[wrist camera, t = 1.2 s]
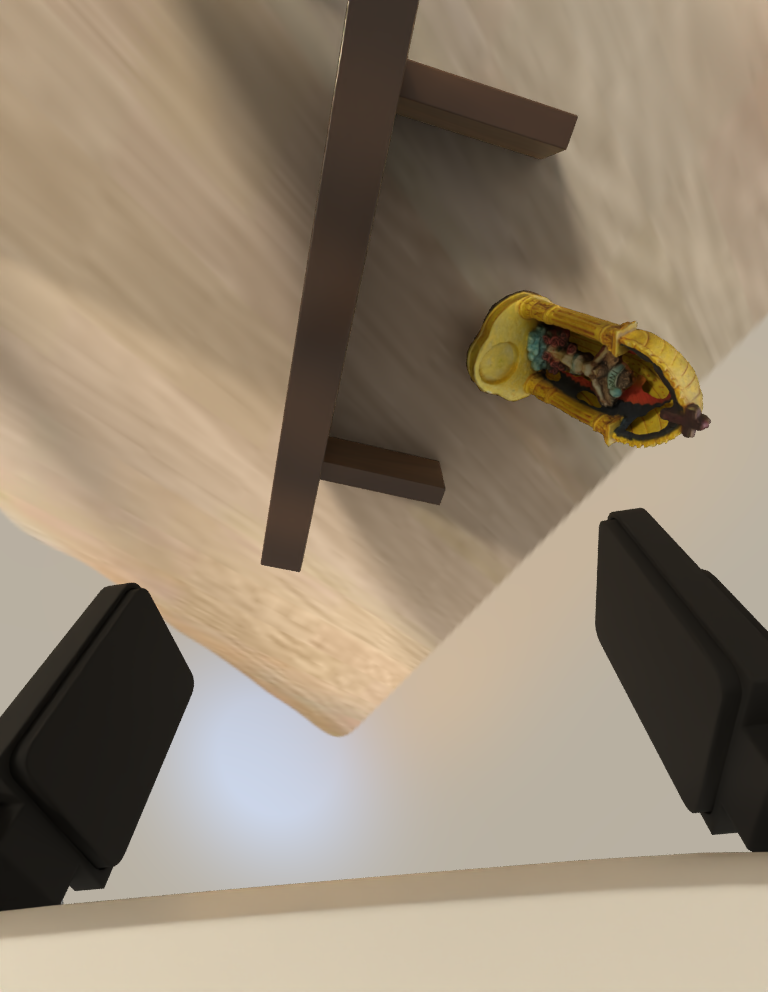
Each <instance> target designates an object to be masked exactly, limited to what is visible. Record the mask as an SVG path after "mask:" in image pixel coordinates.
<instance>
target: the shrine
mask: <svg viewBox="0 0 768 992" xmlns="http://www.w3.org/2000/svg"><path fill="white" fill-rule="evenodd" d="M636 327H637V322H636V321H633V322H631V323H630V322H625V323H623V324H621V325H618V324H615V323H611V322H609V321H605V320H602V319H599V318H596V317H593V316H590V315H588V314H584V313H580V312H577V311H573V310H571V309H567V308H563V307H561V306H558V305H556V304H553V303H552V302H551V301H550V300H548V299H547V298H546V297H543V296H541V295H539V294H536V293H533V292H531V291H525V290H523V291H519V292H516V293H514V294H510V295H508V296H506V297H504V298H503V299H501V300H500V301H498V302H497V303H495V304H494V305H493V306H492V307H491V308H490V310H489V312H488V314H487V316H486V317H485V319H484V321H483V325H482V327H481V329H480V331H479V332H478V334H477V335H476V337H475V338H474V341H473V342H472V343H471V344H470V347H469V349H468V352H467V359H466V360H467V361H466V366H467V370H468V373H469V375H470V377H471V380H472V381H473V382H475V383H476V384H477V386H478V388H479V389H480V391H482V392H486V393H489V394H496V395H499V396H501V397H503V398H504V399H506V400H508V401H517V400H519V399H522V398H525V397H528V396H529V395H530V394H532V395H535V396H536V398H538V399H539V400H541V401H543V402H545V403H548V404H551V405H553V406H555V407H557V408H559V409H561V410H562V411H563V412H565V413H567V414H569V415H570V416H571V417H574V418H576V419H578V420H579V421H580V422H583V423H585V424H587V425H589V426H591V427H592V428H593V431H596V432H599V433H601V434H602V435H603V436H604V440H605V443H606V444H607V446H608V447H609V446H610V445H611V444H612V443H615V442H618V443H619V442H622V443H623V444H626V443H629V446H631V447H633V446H635V445H636V446H637V448H640V447H641V446H642V445H644V447H648V446H652V447H654V446H656V445H657V444H659V445H660V444H662V443H663V442H666V443H667V442H668V441H669V440H672V439H675V437H676V436H678V435H680V434H681V433H682V434H683V436H684V437H687V438H689V437H694V435H695V432H696V430H697V431H701V430H703V429H705V428H708V427H709V424H710V423H711V420H710V419H709V418H708V417H707V416H706V415H704V414H702V409H703V402H702V399H703V398H702V396H703V395H702V392H701V389H700V386H699V382H698V379H697V376H696V374H695V371H694V370H693V368H692V367H691V365H690V364H689V362H687V361H686V359H685V358H684V357H683V356H682V355H681V354H680V353H679V352H678V351H677V350H676V349H675V348H674V347H673V346H672V345H671V344H669V343H668V342H666V341H665V340H662V339H661V338H660V337H658V336H657V335H655V334H653V333H651V332H648V331H643V330H640V329H636Z"/></svg>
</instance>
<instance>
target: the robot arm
mask: <svg viewBox="0 0 768 992" xmlns="http://www.w3.org/2000/svg"><path fill="white" fill-rule="evenodd" d="M595 626H596V632H597V636H598V639H599V641H600V643H601V645H602V647H603V649H604V651H605V653H606V655H607V657H608V658H609V660H610V662H611V664H612V666H613V668H614V670H615V672H616V674H617V676H618V678H619V680H620V681H621V684H622V685H623V687H624V689H625V691H626V693H627V695H628V697H629V699H630V701H631V703H632V705H633V707H634V708H635V710H636V712H637V714H638V716H639V718H640V720H641V722H642V724H643V726H644V728H645V730H646V731H647V733H648V735H649V737H650V739H651V741H652V743H653V745H654V747H655V749H656V751H657V753H658V754H659V756H660V758H661V760H662V762H663V764H664V766H665V768H666V770H667V772H668V773H669V775H670V777H671V779H672V781H673V783H674V785H675V787H676V789H677V791H678V793H679V795H680V796H681V799H682V800H683V802H684V804H685V806H686V807H687V808H688V810H689V811H691V812H692V813H701V815H702V817H703V819H704V821H705V823H706V824H707V826H708V828H709V830H710V832H711V834H712V835H715V834H727V833H738V834H739V835H740V837H741V839H742V840H743V842H744V844H745V845H746V847H747V849H748V850H750V851H752V852H723V853H691V854H674V855H658V856H641V857H625V858H609V859H592V860H578V861H565V862H553V863H541V864H529V865H517V866H516V865H515V866H503V867H491V868H478V869H465V870H453V871H441V872H428V873H416V874H404V875H392V876H380V877H368V878H357V879H344V880H333V881H321V882H309V883H298V884H286V885H275V886H263V887H251V888H240V889H228V890H217V891H206V892H194V893H184V894H174V895H162V896H151V897H140V898H129V899H118V900H107V901H96V902H85V903H74V904H63V898H64V896H65V893H66V892H67V889H68V887H69V886H70V887H71V888H73V889H74V891H80V890H91V889H102V888H104V887H105V885H106V883H107V880H108V878H109V876H110V873H111V871H112V868H113V866H115V865H117V864H118V863H119V862H120V861H121V860H122V858H123V856H124V854H125V852H126V849H127V847H128V845H129V842H130V840H131V838H132V835H133V833H134V831H135V828H136V826H137V823H138V821H139V819H140V816H141V814H142V812H143V809H144V807H145V804H146V802H147V800H148V797H149V795H150V792H151V790H152V787H153V785H154V783H155V781H156V778H157V776H158V773H159V771H160V768H161V766H162V764H163V761H164V759H165V757H166V754H167V752H168V750H169V747H170V745H171V743H172V740H173V738H174V735H175V733H176V731H177V728H178V726H179V723H180V721H181V718H182V716H183V714H184V712H185V709H186V707H187V704H188V702H189V700H190V697H191V695H192V692H193V687H194V680H193V675H192V673H191V671H190V669H189V667H188V665H187V663H186V662H185V660H184V658H183V656H182V654H181V652H180V650H179V648H178V646H177V644H176V643H175V641H174V639H173V637H172V635H171V633H170V632H169V629H168V627H167V626H166V624H165V622H164V620H163V618H162V616H161V614H160V612H159V610H158V609H157V607H156V605H155V603H154V601H153V599H152V597H151V595H150V593H149V592H148V591H147V590H146V589H144V588H141V587H140V586H139V585H138V584H136V583H126V584H119V585H113V586H108V587H104V588H103V589H102V590H101V591H100V593H99V594H98V595H97V596H96V598H95V599H94V600H93V601H92V603H91V604H90V605H89V606H88V608H87V609H86V610H85V611H84V612H83V614H82V615H81V616H80V618H79V619H78V620H77V621H76V623H75V624H74V625H73V626H72V628H71V629H70V630H69V631H68V633H67V634H66V635H65V636H64V638H63V639H62V640H61V641H60V643H59V644H58V645H57V646H56V648H55V649H54V650H53V651H52V653H51V654H50V655H49V657H48V658H47V659H46V660H45V662H44V663H43V664H42V665H41V667H40V668H39V669H38V670H37V672H36V673H35V674H34V675H33V677H32V678H31V679H30V680H29V682H28V683H27V684H26V685H25V687H24V688H23V689H22V690H21V692H20V693H19V694H18V696H17V697H16V698H15V699H14V701H13V702H12V703H11V704H10V706H9V707H8V708H7V709H6V711H5V712H4V713H3V714H2V716H1V717H0V992H768V631H767V630H766V629H765V628H764V627H763V626H762V625H761V624H760V623H759V622H758V621H757V620H756V619H755V618H754V616H753V615H752V614H751V613H750V612H749V611H748V610H747V609H746V608H745V607H744V606H743V605H742V604H741V603H740V602H739V601H738V600H737V599H736V598H735V597H734V596H733V595H732V593H730V591H729V590H728V589H727V588H726V587H725V586H724V585H723V584H722V583H721V582H720V581H719V580H718V579H717V578H716V577H715V576H714V575H712V574H711V573H710V572H709V571H706V570H703V569H700V568H699V567H698V565H697V564H696V563H694V561H693V560H692V559H691V558H690V557H689V556H688V555H687V554H686V553H685V552H684V551H683V549H682V548H681V547H680V546H679V545H678V544H677V543H676V542H675V541H674V540H673V539H672V538H671V537H670V536H669V534H667V532H666V531H665V530H664V529H663V528H662V527H661V526H660V525H659V524H658V523H657V522H656V521H655V519H654V518H653V517H652V516H651V515H650V514H649V513H648V512H647V511H646V510H645V509H643V508H637V509H630V510H623V511H616V512H611V513H610V514H609V516H608V520H606V521H601V522H600V525H599V540H598V566H597V591H596V616H595Z"/></svg>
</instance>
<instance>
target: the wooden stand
mask: <svg viewBox="0 0 768 992" xmlns="http://www.w3.org/2000/svg"><path fill="white" fill-rule="evenodd" d="M418 5H419V0H348V3H347V9H346V16H345V22H344V29H343V35H342V42H341V48H340V55H339V61H338V67H337V74H336V80H335V87H334V93H333V100H332V106H331V113H330V119H329V126H328V132H327V138H326V145H325V151H324V158H323V164H322V171H321V177H320V184H319V190H318V197H317V203H316V209H315V216H314V222H313V229H312V235H311V242H310V248H309V255H308V261H307V268H306V274H305V280H304V287H303V293H302V300H301V306H300V313H299V319H298V326H297V332H296V339H295V345H294V351H293V358H292V364H291V371H290V377H289V384H288V390H287V397H286V403H285V410H284V416H283V422H282V429H281V435H280V442H279V448H278V455H277V461H276V468H275V474H274V480H273V487H272V493H271V500H270V506H269V513H268V519H267V526H266V532H265V539H264V545H263V551H262V558H261V565H265V566H270V567H275V568H281V569H286V570H291V571H296V572H300V571H301V567H302V562H303V558H304V553H305V548H306V543H307V538H308V534H309V529H310V524H311V519H312V514H313V510H314V505H315V500H316V495H317V490H318V486H319V481H320V479H321V480H325V481H330V482H334V483H339V484H344V485H348V486H353V487H357V488H362V489H367V490H371V491H376V492H381V493H385V494H390V495H394V496H399V497H404V498H408V499H413V500H417V501H422V502H427V503H431V504H436V505H440V503H441V500H442V497H443V494H444V492H445V484H444V480H443V476H442V472H441V468H440V463H439V461H435V460H431V459H426V458H422V457H418V456H413V455H409V454H405V453H400V452H396V451H391V450H387V449H383V448H378V447H374V446H370V445H365V444H361V443H356V442H352V441H348V440H343V439H339V438H334V437H330V436H329V433H330V428H331V423H332V418H333V413H334V409H335V404H336V399H337V394H338V389H339V385H340V380H341V375H342V370H343V365H344V361H345V356H346V351H347V346H348V341H349V337H350V332H351V327H352V322H353V317H354V313H355V308H356V303H357V298H358V293H359V289H360V284H361V279H362V274H363V269H364V265H365V260H366V255H367V250H368V245H369V240H370V236H371V231H372V226H373V221H374V216H375V212H376V207H377V202H378V197H379V192H380V188H381V183H382V178H383V173H384V168H385V164H386V159H387V154H388V149H389V144H390V140H391V135H392V130H393V125H394V120H395V116H396V114H398V115H401V116H405V117H408V118H411V119H414V120H417V121H420V122H424V123H427V124H430V125H433V126H436V127H439V128H443V129H446V130H449V131H452V132H455V133H458V134H461V135H465V136H468V137H471V138H474V139H477V140H480V141H484V142H487V143H490V144H493V145H496V146H499V147H502V148H506V149H509V150H512V151H515V152H518V153H521V154H525V155H528V156H531V157H534V158H537V159H543V158H546V157H548V156H551V155H553V154H556V153H559V152H561V151H564V150H566V149H567V146H568V143H569V141H570V138H571V135H572V132H573V129H574V127H575V124H576V121H577V118H578V116H577V115H574V114H571V113H568V112H565V111H562V110H559V109H556V108H553V107H550V106H547V105H544V104H541V103H538V102H535V101H532V100H529V99H526V98H523V97H520V96H517V95H514V94H511V93H508V92H505V91H502V90H499V89H496V88H493V87H490V86H487V85H484V84H481V83H478V82H475V81H472V80H469V79H466V78H463V77H460V76H457V75H454V74H451V73H448V72H445V71H442V70H439V69H436V68H433V67H430V66H427V65H424V64H421V63H418V62H415V61H412V60H409V59H407V58H408V53H409V48H410V43H411V39H412V34H413V29H414V24H415V19H416V15H417V10H418Z"/></svg>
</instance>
